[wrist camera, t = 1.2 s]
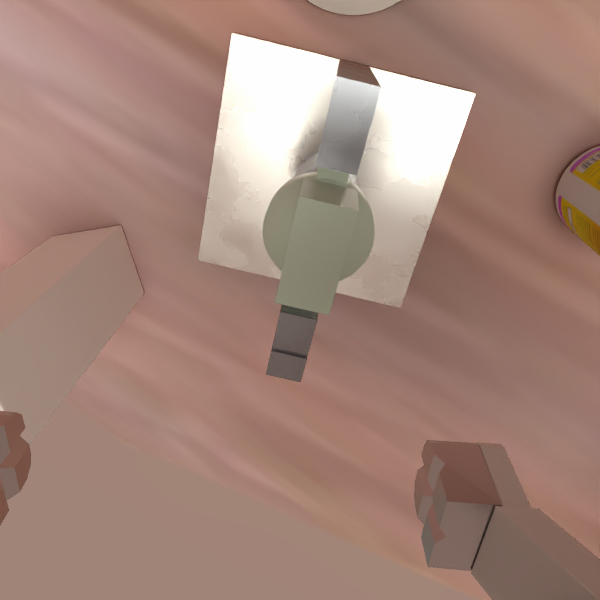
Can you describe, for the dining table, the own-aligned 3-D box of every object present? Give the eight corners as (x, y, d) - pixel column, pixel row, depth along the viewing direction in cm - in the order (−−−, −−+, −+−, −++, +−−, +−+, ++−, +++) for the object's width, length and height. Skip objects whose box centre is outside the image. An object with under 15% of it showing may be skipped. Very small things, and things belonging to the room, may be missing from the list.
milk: (122, 224, 42) (-69, 393, 23) (145, 293, 45) (-8, 500, 25) (49, 235, 43) (-196, 409, 23) (77, 303, 46) (-123, 511, 26)
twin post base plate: (471, 91, 36) (536, 125, 24) (399, 301, 43) (420, 409, 31) (235, 32, 36) (177, 36, 23) (201, 254, 43) (143, 346, 31)
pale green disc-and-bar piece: (402, 135, 28) (412, 156, 24) (345, 323, 33) (345, 369, 29) (288, 107, 28) (277, 123, 24) (249, 300, 33) (234, 343, 29)
